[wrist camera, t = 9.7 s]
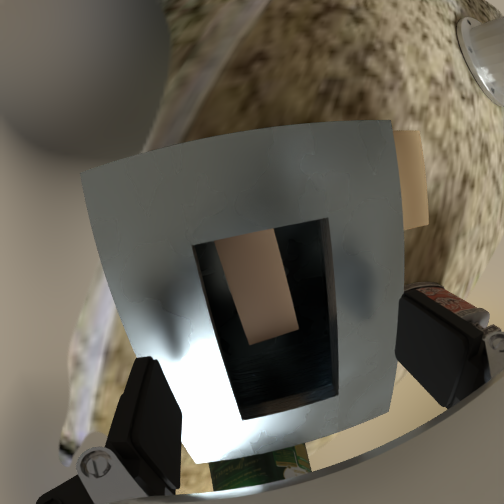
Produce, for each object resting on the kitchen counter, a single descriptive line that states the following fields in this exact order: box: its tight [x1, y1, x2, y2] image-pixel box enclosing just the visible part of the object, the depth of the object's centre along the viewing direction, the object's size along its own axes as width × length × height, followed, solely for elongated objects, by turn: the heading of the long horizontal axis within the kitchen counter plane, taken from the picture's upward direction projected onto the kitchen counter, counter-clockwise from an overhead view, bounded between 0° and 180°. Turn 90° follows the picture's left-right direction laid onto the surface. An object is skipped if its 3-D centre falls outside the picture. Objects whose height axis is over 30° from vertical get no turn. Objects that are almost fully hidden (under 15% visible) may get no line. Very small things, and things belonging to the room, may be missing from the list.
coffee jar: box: [208, 443, 312, 492], centre depth 16 cm, size 10×8×19 cm
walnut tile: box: [214, 228, 299, 345], centre depth 17 cm, size 3×6×6 cm, turn 16°
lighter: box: [404, 282, 501, 341], centre depth 19 cm, size 8×3×10 cm, turn 91°
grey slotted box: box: [80, 120, 404, 463], centre depth 16 cm, size 12×16×10 cm
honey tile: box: [393, 131, 429, 230], centre depth 17 cm, size 3×6×6 cm, turn 10°
